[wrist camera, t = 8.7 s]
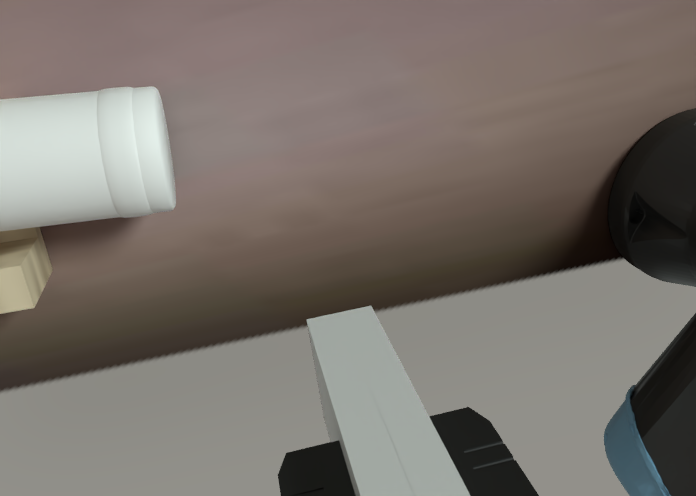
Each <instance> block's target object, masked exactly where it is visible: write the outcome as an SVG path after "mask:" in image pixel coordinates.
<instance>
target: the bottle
mask: <svg viewBox="0 0 696 496" xmlns="http://www.w3.org/2000/svg"><path fill="white" fill-rule="evenodd" d="M175 205H176V192H175V180H174V171H173V163H172V156H171V149H170V142H169V136H168V130H167V125H166V120H165V114H164V109H163V105H162V101H161V97H160V94H159V91H158V90H157V89H156V88H155V87H153V86H152V87H140V88H132V87H118V88H108V89H102V90H100V91H94V92H82V93H70V94H59V95H47V96H36V97H24V98H12V99H1V100H0V231H9V230H17V229H25V228H34V227H42V226H50V225H58V224H67V223H75V222H83V221H92V220H100V219H108V218H116V217H123V218H129V217H139V216H146V215H151V214H153V213H158V212H166V211H172V210H173V209H174V208H175Z"/></svg>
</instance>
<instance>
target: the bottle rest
mask: <svg viewBox="0 0 696 496" xmlns="http://www.w3.org/2000/svg"><path fill="white" fill-rule="evenodd" d="M52 271H53V269H52V266H51V263H50V259H49V256H48V253H47V250H46V246H45V243H44V240H43V237H42V233H41V230H40V227H34V228H25V229H17V230H9V231H0V314H2V313H8V312H13V311H19V310H25V309H30V308H35V305H36V303H37V301H38V299H39V297H40V295H41V293H42V291H43V289H44V287H45V285H46V283H47V281H48V279H49V277H50V275H51V273H52Z"/></svg>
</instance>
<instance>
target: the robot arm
mask: <svg viewBox="0 0 696 496" xmlns="http://www.w3.org/2000/svg"><path fill="white" fill-rule="evenodd" d="M608 222H609V229H610V233H611V237H612V240H613V242H614V244H615V246H616V248H617V250H618V251H619V253H620V254H621V255H622V256H623V257H624V258H625V259H626V260H627V261H628V262H629V263H631V264H632V265H633V266H635V267H637V268H638V269H640V270H641V271H643V272H644V273H646V274H648V275H649V276H651V277H654V278H657V279H659V280H662V281H666V282H671V283H677V284H683V285H689V286H694V287H696V108H695V109H691V110H687V111H684V112H681V113H678V114H676V115H674V116H672V117H670V118H668V119H666V120H664V121H663V122H661V123H660V124H658V125H657V126H656V127H654V128H653V129H652V130H651V131H649V132H648V133H647V134H646V135H645V136H644V137H643V138H642V139H641V140H640V141H639V142H638V143H637V144H636V145H635V147H634V148H633V149H632V150H631V152H630V153H629V154H628V156H627V158H626V159H625V161H624V162H623V164H622V166H621V168H620V170H619V172H618V174H617V176H616V178H615V181H614V184H613V187H612V190H611V194H610V199H609V207H608ZM307 325H308V331H309V336H310V342H311V347H312V353H313V359H314V365H315V370H316V376H317V382H318V387H319V393H320V398H321V404H322V410H323V415H324V420H325V424H326V427H327V431H328V434H329V438H330V443H326V444H322V445H317V446H314V447H309V448H305V449H301V450H297V451H293V452H289V453H286V455H285V458H284V461H283V463H282V466H281V469H280V471H279V474H278V479H279V485H280V492H281V496H539V495H538V494H537V492H536V491H535V489H534V488H533V486H532V485H531V483H530V482H529V480H528V478H527V477H526V475H525V474H524V472H523V471H522V469H521V468H520V466H519V465H518V463H517V462H516V461H514V459H513V456H512V454H511V453H510V451H509V450H508V448H507V447H506V445H505V444H503V441H502V439H501V438H500V436H499V434H498V433H497V431H496V430H495V428H494V427H493V426H492V424H491V422H490V421H489V420H487V419H486V418H484V417H483V416H481V415H480V414H478V413H477V412H475V411H474V410H472V409H471V408H469V407H467V408H463V409H459V410H454V411H451V412H446V413H442V414H438V415H434V416H430V417H429V415H428V414H427V412H426V410H425V408H424V406H423V404H422V402H421V400H420V398H419V397H418V394H417V393H416V390H415V389H414V387H413V385H412V383H411V381H410V379H409V377H408V375H407V373H406V372H405V369H404V368H403V366H402V364H401V362H400V360H399V358H398V356H397V354H396V352H395V350H394V349H393V347H392V345H391V343H390V341H389V339H388V337H387V335H386V333H385V331H384V329H383V328H382V326H381V324H380V322H379V320H378V318H377V316H376V314H375V312H374V310H373V308H372V306H368V307H363V308H358V309H354V310H349V311H344V312H340V313H335V314H330V315H326V316H321V317H316V318H312V319H307ZM604 445H605V451H606V454H607V458H608V460H609V463H610V465H611V467H612V469H613V471H614V472H615V474H616V476H617V478H618V479H619V481H620V482H621V484H622V485H623V487H624V488H625V490H626V491H627V492H628V494H629V495H630V496H696V313H695V315H694V316H693V317H692V318H691V319H690V321H689V322H688V323H687V324H686V325H685V327H684V328H683V329H682V330H681V331H680V333H679V334H678V335H677V336H676V337H675V339H674V340H673V341H672V342H671V343H670V345H669V346H668V347H667V348H666V350H665V351H664V352H663V353H662V354H661V356H660V357H659V358H658V359H657V360H656V361H655V363H654V364H653V365H652V366H651V368H650V369H649V370H648V371H647V372H646V373H645V375H644V376H643V377H642V378H641V380H640V381H639V382H638V383H637V384H636V385H633V386H632V387H631V388H630V389H629V390H628V392H627V394H626V400H625V401H624V402H623V404H622V405H621V406H620V408H619V409H618V411H617V412H616V413H615V414H614V416H613V417H612V419H611V420H610V422H609V423H608V425H607V427H606V429H605V433H604Z"/></svg>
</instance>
